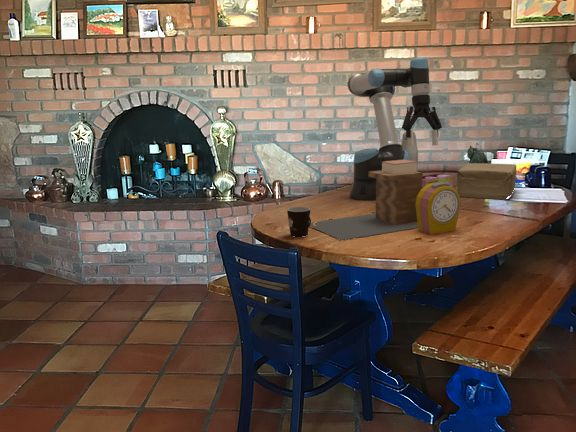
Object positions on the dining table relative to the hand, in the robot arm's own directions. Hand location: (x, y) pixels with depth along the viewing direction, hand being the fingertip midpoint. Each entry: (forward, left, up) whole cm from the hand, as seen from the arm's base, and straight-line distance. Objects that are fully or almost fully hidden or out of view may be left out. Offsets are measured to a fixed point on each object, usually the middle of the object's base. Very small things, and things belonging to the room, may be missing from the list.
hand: (423, 145), depth 242 cm
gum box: (-4, +9, -28) cm, 30 cm away
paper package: (-12, +51, -29) cm, 60 cm away
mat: (+10, -34, -28) cm, 45 cm away
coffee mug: (+11, -66, -28) cm, 73 cm away
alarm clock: (+30, -17, -28) cm, 45 cm away
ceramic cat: (-47, +81, -28) cm, 98 cm away
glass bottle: (-62, +43, -28) cm, 81 cm away
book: (+10, -20, -8) cm, 24 cm away
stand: (+10, -22, -28) cm, 37 cm away
